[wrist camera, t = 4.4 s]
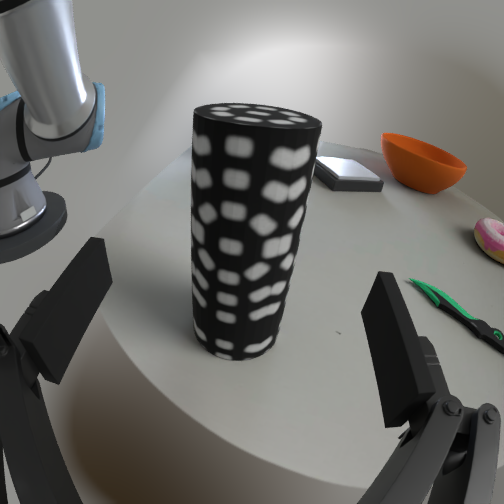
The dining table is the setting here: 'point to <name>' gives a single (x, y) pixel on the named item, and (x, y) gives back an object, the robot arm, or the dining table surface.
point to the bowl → (420, 163)
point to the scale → (346, 175)
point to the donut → (490, 238)
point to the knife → (463, 316)
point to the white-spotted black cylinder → (246, 220)
